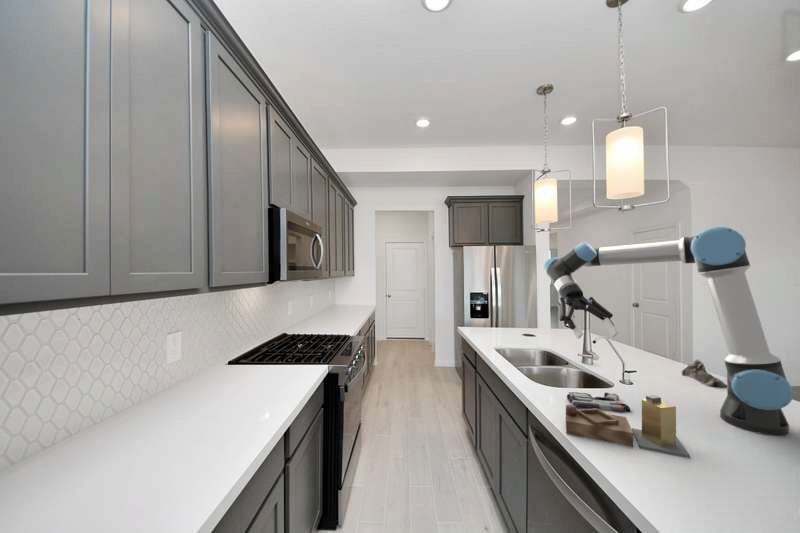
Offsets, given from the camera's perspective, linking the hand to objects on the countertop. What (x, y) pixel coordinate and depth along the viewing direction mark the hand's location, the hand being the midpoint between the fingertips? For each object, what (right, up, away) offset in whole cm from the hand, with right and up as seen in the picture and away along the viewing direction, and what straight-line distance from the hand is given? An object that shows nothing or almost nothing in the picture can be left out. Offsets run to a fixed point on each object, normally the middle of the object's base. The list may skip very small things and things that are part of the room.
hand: (598, 335), depth 111 cm
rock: (+69, -28, +34) cm, 82 cm away
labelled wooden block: (+7, -27, -18) cm, 33 cm away
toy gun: (+6, -28, +10) cm, 31 cm away
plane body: (-7, -28, -11) cm, 31 cm away
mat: (+7, -28, -18) cm, 34 cm away
